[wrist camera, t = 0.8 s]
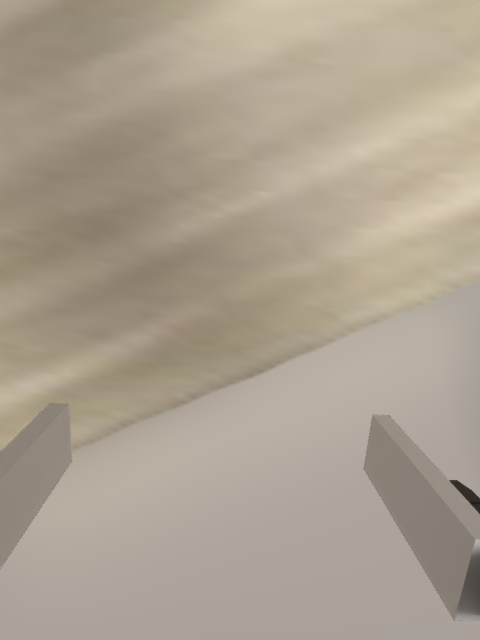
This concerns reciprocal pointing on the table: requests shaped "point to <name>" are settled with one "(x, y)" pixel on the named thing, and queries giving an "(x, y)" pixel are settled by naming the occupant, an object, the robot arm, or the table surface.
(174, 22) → the table surface
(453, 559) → the robot arm
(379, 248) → the table surface
